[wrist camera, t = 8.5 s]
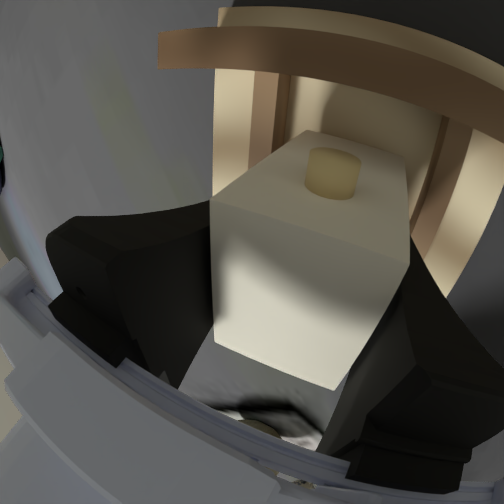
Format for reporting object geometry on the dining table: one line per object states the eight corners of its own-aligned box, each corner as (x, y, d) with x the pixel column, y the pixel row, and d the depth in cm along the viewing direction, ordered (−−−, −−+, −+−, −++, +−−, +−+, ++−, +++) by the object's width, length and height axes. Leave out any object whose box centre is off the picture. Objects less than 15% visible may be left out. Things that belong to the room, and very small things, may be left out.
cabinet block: (370, 258, 13) (333, 390, 8) (290, 231, 14) (214, 341, 9) (408, 138, 9) (426, 227, 4) (309, 110, 10) (209, 162, 5)
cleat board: (414, 332, 16) (405, 398, 13) (221, 262, 20) (179, 310, 17) (522, 81, 6) (578, 93, 3) (229, 10, 10) (160, -3, 7)
